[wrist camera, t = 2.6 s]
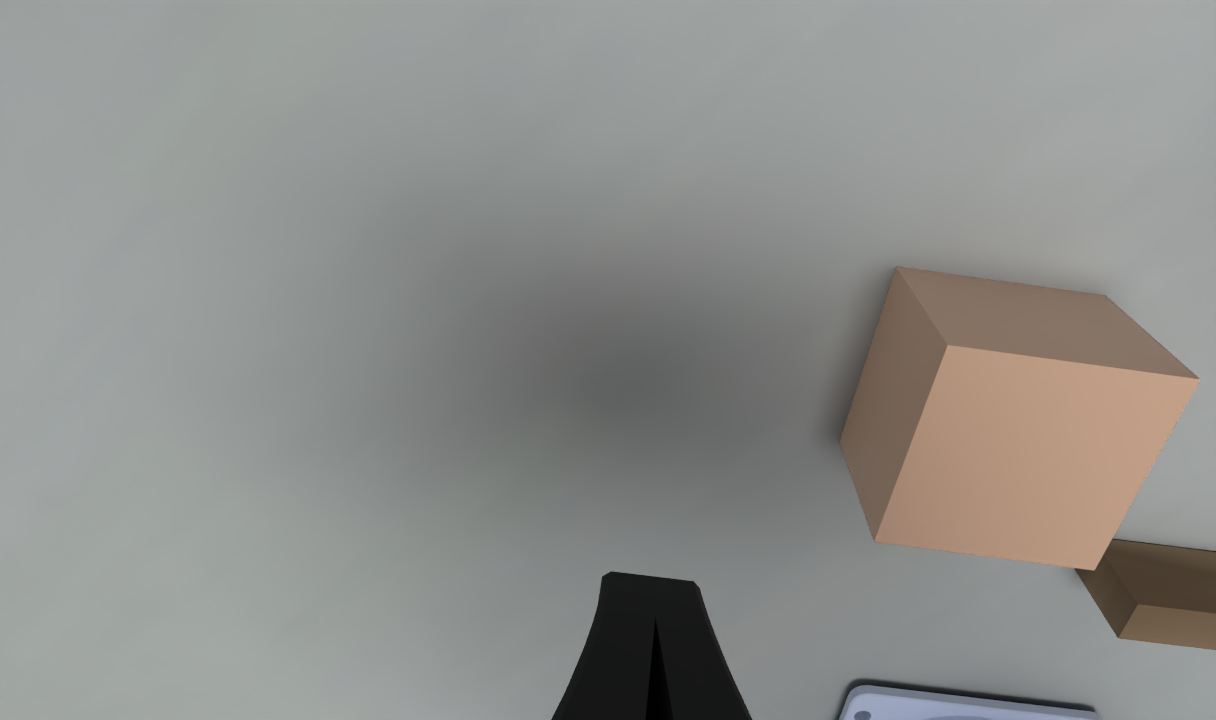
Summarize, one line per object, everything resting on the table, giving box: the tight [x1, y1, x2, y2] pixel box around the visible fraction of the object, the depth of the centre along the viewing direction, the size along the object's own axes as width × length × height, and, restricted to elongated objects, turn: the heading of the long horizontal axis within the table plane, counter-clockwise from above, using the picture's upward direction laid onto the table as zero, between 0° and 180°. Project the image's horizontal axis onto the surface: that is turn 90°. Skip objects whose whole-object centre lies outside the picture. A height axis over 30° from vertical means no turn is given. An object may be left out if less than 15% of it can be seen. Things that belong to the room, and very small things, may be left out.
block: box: [840, 267, 1201, 570], centre depth 19 cm, size 5×5×4 cm
